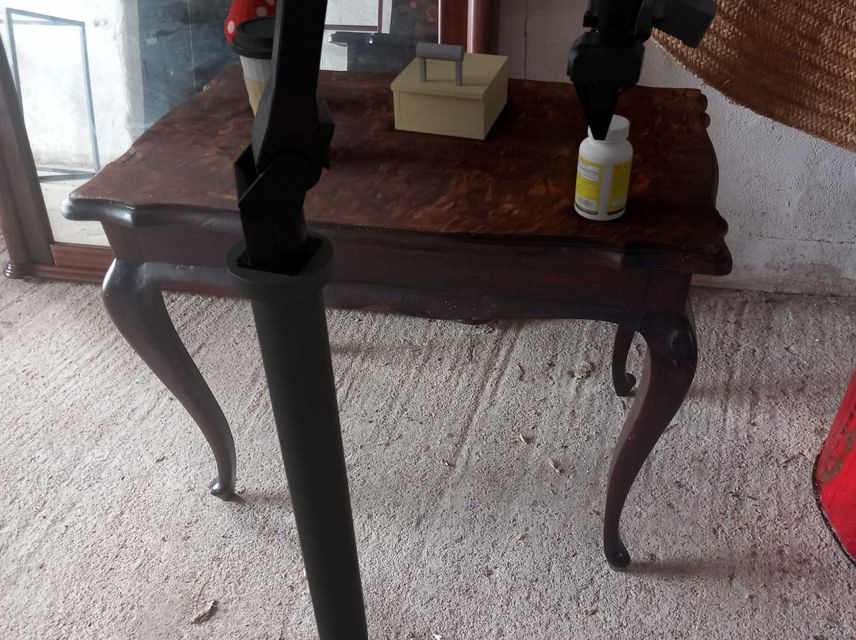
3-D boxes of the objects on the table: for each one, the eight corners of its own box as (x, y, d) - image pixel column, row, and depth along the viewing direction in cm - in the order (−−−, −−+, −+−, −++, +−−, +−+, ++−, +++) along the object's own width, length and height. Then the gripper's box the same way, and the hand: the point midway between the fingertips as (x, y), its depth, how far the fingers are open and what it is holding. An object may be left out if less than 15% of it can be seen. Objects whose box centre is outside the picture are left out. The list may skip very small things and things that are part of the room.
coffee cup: (340, 166, 92) (327, 33, 83) (259, 179, 89) (235, 44, 80) (321, 134, 99) (306, 8, 89) (245, 146, 96) (221, 17, 87)
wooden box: (483, 139, 98) (484, 98, 95) (395, 129, 100) (392, 88, 97) (506, 102, 107) (508, 62, 104) (425, 93, 110) (424, 54, 106)
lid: (482, 100, 94) (483, 54, 91) (390, 90, 96) (388, 45, 93) (508, 62, 104) (509, 19, 101) (424, 54, 106) (423, 12, 103)
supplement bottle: (623, 198, 86) (635, 112, 80) (626, 223, 82) (639, 134, 76) (573, 196, 87) (581, 109, 81) (573, 221, 83) (582, 131, 76)
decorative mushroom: (251, 91, 110) (232, -25, 100) (312, 94, 109) (299, -23, 100) (228, 120, 102) (204, -3, 93) (293, 123, 102) (276, -1, 92)
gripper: (719, -17, 60) (683, 172, 70) (723, -68, 74) (692, 95, 84) (574, -27, 62) (558, 157, 72) (604, -75, 76) (588, 84, 86)
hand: (605, 121), depth 79 cm, fingers open, 9 cm apart
